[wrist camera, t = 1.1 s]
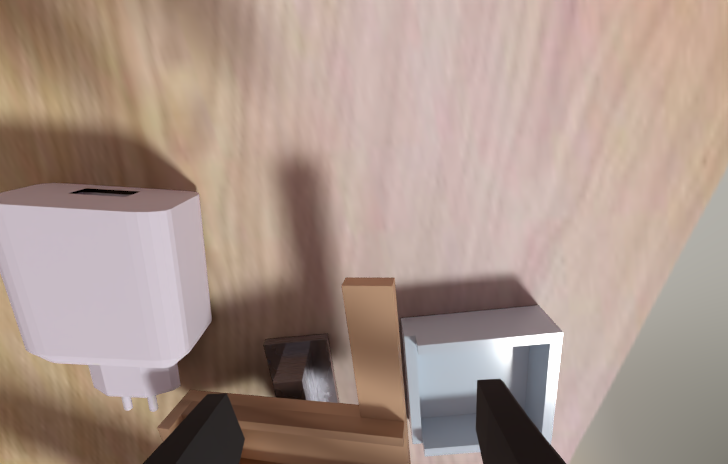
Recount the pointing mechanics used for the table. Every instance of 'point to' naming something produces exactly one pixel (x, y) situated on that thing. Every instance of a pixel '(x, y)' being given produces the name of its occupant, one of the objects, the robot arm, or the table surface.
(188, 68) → the table surface
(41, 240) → the charger
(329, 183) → the table surface
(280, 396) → the fulcrum
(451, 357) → the dish
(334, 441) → the lever
